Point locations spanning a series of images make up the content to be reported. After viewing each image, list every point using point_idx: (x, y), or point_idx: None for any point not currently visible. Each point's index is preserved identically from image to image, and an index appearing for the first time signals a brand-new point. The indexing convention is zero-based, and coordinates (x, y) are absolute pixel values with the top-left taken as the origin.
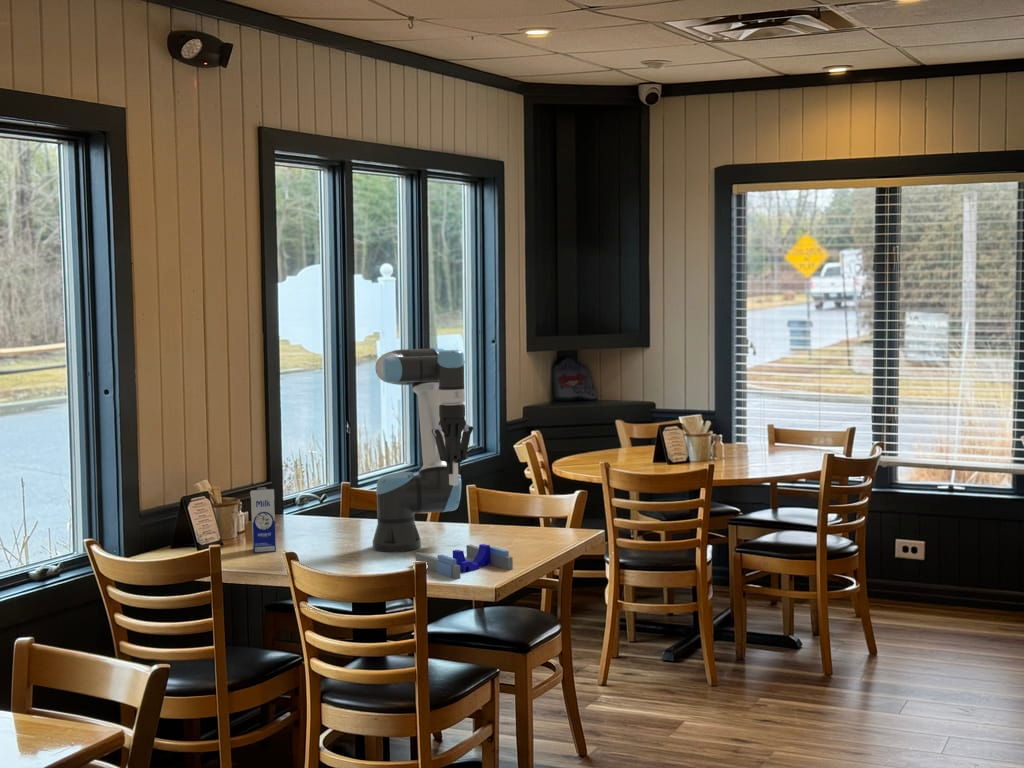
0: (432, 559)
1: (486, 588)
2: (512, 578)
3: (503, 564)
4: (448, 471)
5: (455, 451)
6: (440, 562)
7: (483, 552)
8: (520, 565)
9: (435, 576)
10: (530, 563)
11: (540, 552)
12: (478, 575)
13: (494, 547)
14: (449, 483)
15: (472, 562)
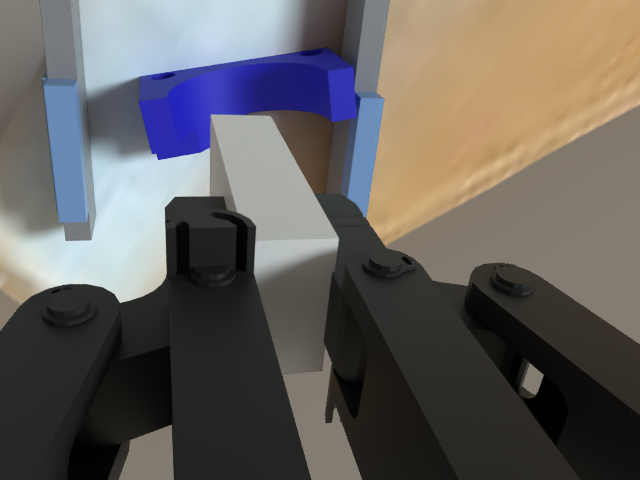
0: (42, 21)
1: None
2: None
3: (330, 187)
4: (166, 261)
5: (388, 472)
6: (46, 116)
7: (316, 101)
8: (405, 176)
9: (11, 123)
10: (451, 172)
11: (618, 35)
12: None
13: (372, 119)
14: (211, 124)
15: (251, 82)
